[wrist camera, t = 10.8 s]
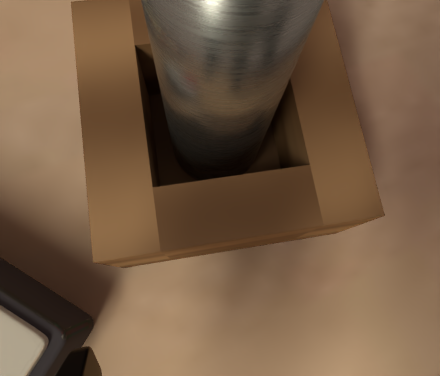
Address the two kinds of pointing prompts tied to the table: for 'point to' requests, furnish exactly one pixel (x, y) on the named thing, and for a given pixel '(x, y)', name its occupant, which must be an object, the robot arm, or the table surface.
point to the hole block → (219, 187)
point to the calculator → (36, 326)
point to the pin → (224, 74)
